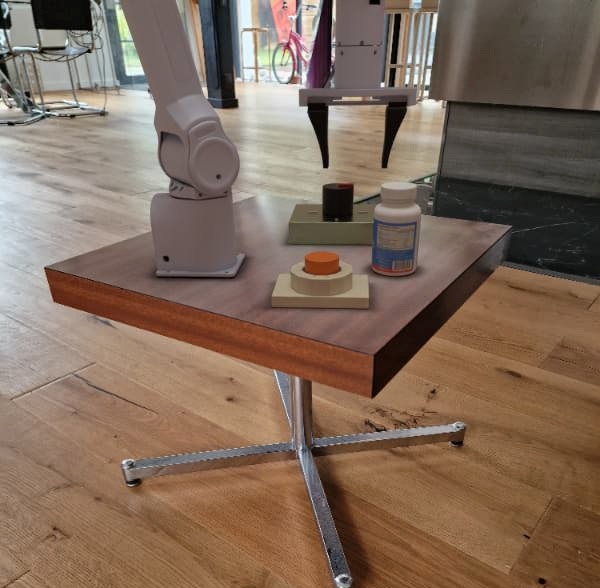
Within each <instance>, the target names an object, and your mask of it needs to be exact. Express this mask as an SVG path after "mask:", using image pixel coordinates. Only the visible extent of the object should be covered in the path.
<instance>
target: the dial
mask: <svg viewBox="0 0 600 588" xmlns="http://www.w3.org/2000/svg"><path fill="white" fill-rule="evenodd" d="M321 190H322V191H321V193H322V194H321V195H322V196H321V200H322V201H321V204H322V213H323V214H326V215H331V216H344V215H349V214H352V213H353V204H354V200H355V199H354V197H355V192H354V191H355V183H354V182H331V183H330V182H329V183H325V184H323V185H322V189H321Z"/></svg>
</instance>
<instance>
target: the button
mask: <svg viewBox="0 0 600 588" xmlns="http://www.w3.org/2000/svg"><path fill="white" fill-rule="evenodd" d="M304 261H305V273H307V274H311V275H332V274H336V273H338V272H339V261H340V255H339V254H338V253H335V252H332V251H326V250H325V251H322V250H321V251H313V252H309V253H306V254H305V255H304Z"/></svg>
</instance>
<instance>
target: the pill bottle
mask: <svg viewBox="0 0 600 588" xmlns="http://www.w3.org/2000/svg"><path fill="white" fill-rule="evenodd" d="M417 195H418V185H417V184H416V183H413V182H409V181H389V182H383V183H381V185H380V193H379V197H380V199H381V201H382V202H380V203H377V204H378V205H377V206H376V207H375V209H374V221H373V244H372V245H371V247H372V248H371V269H372V270H373V272H375V273H377V274H379V275H383V276H388V277H402V276H407V275H410V274H413V273H414V272H416V270H417V267H418V257H419V245H420V232H421V222H422V208H421V207H420V206H419V204H417V203H416V202H415V200H417Z"/></svg>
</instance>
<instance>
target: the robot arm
mask: <svg viewBox="0 0 600 588" xmlns="http://www.w3.org/2000/svg"><path fill="white" fill-rule="evenodd" d="M118 2H119V5H120V7H121V11H122V13H123V16H124V20H125V22H126V25H127V27H128V31H129V34H130V36H131V39H132V42H133V46H134V48H135V51H136V53H137V56H138V57H137V58H138V59H139V62H140V65H141V68H142V71H143V73H144V76H145V79H146V82H147V85H148V88H149V91H150V94H151V97H152V100H153V103H154V106H155V110H154V116H153V117H154V118H153V126H154V130H155V132H156V136H157V150H156V151H157V161H158V164H159V167H160V168H161V170H162V171H163V173H164V175H166V176H167V178H169V183H168V184H169V185H168V192H158V193H155V194H154V195H153V196H152V198H151V201H150V207H149V208H150V209H149V220H150V229H151V235H152V242H153V248H154V254H155V261H156V269H157V271H156V272H155V275H156V276H157V277H188V278H189V277H190V278H191V277H196V278H198V277H200V278H202V277H204V278H234V277H235V276H236V275H237V273H238V271H239V270H240V268H241V266H242V265H243V262H244V260H245V258H246V254H245V253H238V252H237V251H238V250H237V239H236V225H235V213H234V198H233V192H232V191H233V185H234V184H235V183H236V181H237V178H238V177H239V173H240V167H241V161H240V154H239V151H238V149H237V147H236V145H235V143H234V142H233V141H232V140H231V139H230V138H229V136H228V135H227V133H226V132H225V130H224V128H223V124H222V122H221V118H220V116H219V114H218V113H217V111H216V109H215V108H214V107H213V106H212V104H211V102H210V101H209V100H208V99H207V97H206V96H205V94H204V90H203V87H202V84H201V80H200V77H199V74H198V70H197V67H196V63H195V61H194V57H193V54H192V50H191V47H190V43H189V40H188V37H187V33H186V30H185V26H184V23H183V20H182V16H181V14H180V10H179V9H180V8H179V6H178V3H177V0H118ZM385 9H386V0H335V23H334V24H335V25H334V26H335V27H334V28H335V31H334V46H335V47H334V87H317V88H316V87H312V88H311V87H309V88H299V89H298V107H300V108H301V107H302V108H303V107H305V108H306V107H307V111H306V114H307V117H308V119H309V121H310V124H311V126H312V128H313V131H314V135H315V137H316V140H317V143H318V147H319V151H320V156H321V161H322V169H323V170H324V169H325V170H326V169H329V167H330V151H329V110H330V109H329V107H341V106H342V107H345V106H346V107H347V106H348V107H351V106H356V107H357V106H385V112H384V135H383V144H382V145H383V146H382V152H381V162H380V163H381V166H380V167H381V169H388V164H389V159H390V155H391V152H392V148H393V145H394V142H395V140H396V137H397V135H398V132H399V130H400V127H401V126H402V123H403V121H404V120H405V117H406V115H407V113H408V106H416V105H417V99H418V97H417V96H418V87H416V86H400V87H399V86H382V71H383V70H382V68H383V48H384V46H383V45H384V31H385V12H386V10H385ZM366 97H367V98H370V97H371V99H372V100H343V98H366Z"/></svg>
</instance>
